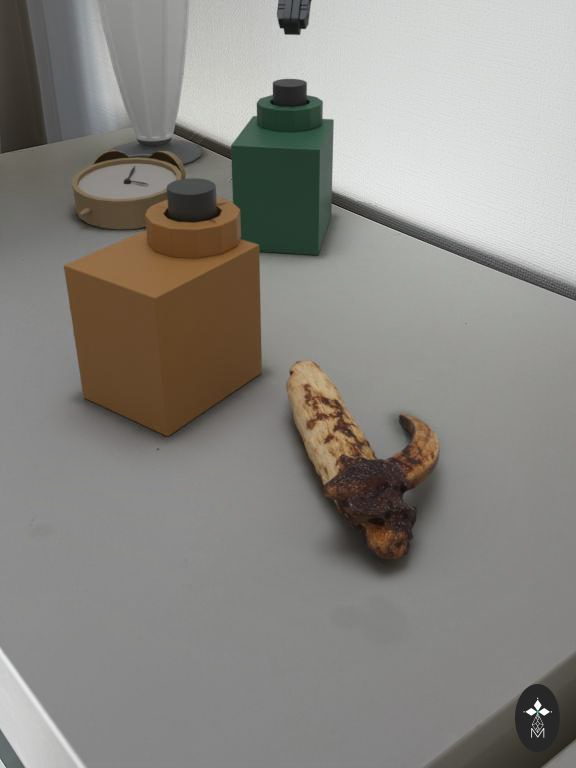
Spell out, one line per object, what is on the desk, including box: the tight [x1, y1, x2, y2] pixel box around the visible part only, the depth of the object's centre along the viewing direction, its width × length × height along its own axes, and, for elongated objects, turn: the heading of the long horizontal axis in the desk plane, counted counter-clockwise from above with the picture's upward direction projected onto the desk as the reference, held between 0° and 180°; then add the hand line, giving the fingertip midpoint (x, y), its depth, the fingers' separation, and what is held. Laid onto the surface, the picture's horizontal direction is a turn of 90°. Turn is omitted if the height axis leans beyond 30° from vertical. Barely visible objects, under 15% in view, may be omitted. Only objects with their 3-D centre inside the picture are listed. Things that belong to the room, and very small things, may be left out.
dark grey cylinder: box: [167, 177, 217, 223], centre depth 57 cm, size 3×3×2 cm
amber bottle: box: [63, 197, 263, 437], centre depth 59 cm, size 11×8×12 cm
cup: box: [96, 0, 202, 166], centre depth 102 cm, size 12×12×22 cm
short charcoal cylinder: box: [272, 78, 308, 107], centre depth 82 cm, size 3×3×2 cm
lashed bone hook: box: [285, 360, 441, 560], centre depth 52 cm, size 9×5×18 cm
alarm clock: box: [71, 149, 187, 230], centre depth 92 cm, size 11×5×15 cm
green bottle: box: [230, 94, 335, 256], centre depth 83 cm, size 11×8×12 cm
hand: (291, 29), depth 81 cm, fingers closed
